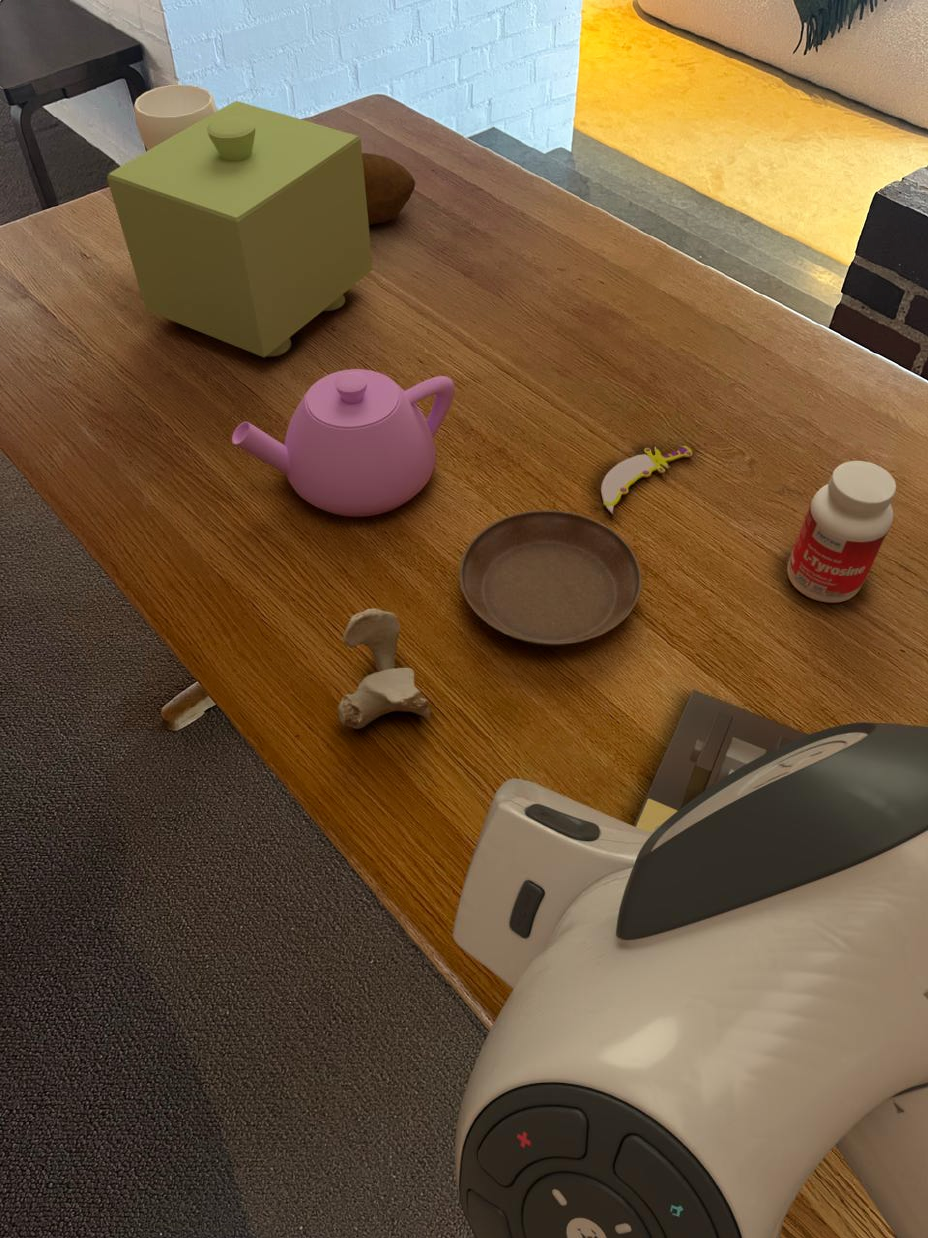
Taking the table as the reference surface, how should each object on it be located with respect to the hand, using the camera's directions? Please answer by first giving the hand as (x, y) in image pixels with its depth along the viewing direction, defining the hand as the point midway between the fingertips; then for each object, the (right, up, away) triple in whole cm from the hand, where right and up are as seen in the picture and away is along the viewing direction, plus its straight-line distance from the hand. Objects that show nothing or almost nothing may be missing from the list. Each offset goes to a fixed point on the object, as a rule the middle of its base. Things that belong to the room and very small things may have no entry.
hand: (706, 862), depth 49 cm
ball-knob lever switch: (+2, 0, +5) cm, 5 cm away
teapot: (-23, +26, +40) cm, 53 cm away
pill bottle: (+18, +16, +32) cm, 40 cm away
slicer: (+5, -2, +17) cm, 17 cm away
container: (-35, +47, +57) cm, 82 cm away
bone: (-18, +6, +24) cm, 30 cm away
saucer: (-5, +15, +31) cm, 34 cm away
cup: (-44, +58, +67) cm, 99 cm away
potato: (-24, +62, +70) cm, 97 cm away
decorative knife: (+4, +26, +40) cm, 47 cm away
